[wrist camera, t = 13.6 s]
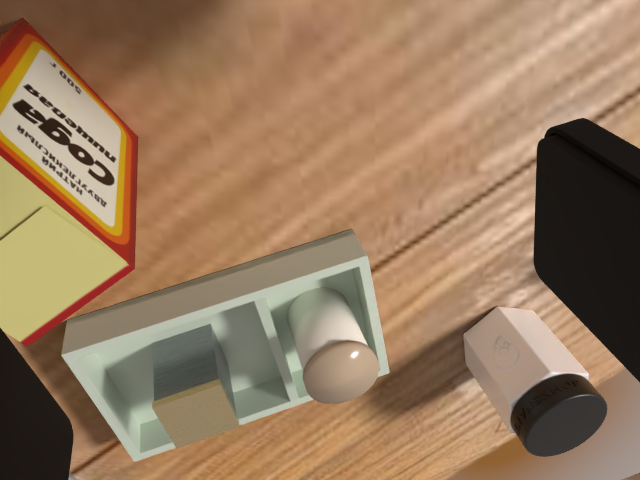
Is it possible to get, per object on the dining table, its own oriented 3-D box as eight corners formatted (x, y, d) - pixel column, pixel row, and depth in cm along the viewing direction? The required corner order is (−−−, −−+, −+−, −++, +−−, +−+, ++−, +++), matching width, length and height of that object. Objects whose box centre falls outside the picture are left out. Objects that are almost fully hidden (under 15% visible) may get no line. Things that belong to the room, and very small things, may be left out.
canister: (343, 276, 48) (373, 337, 42) (354, 325, 52) (383, 388, 46) (277, 298, 48) (297, 363, 42) (293, 346, 51) (313, 413, 45)
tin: (211, 322, 47) (220, 384, 42) (229, 363, 50) (240, 426, 45) (151, 342, 47) (152, 408, 41) (173, 382, 50) (176, 448, 44)
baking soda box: (-59, 85, 34) (-187, 219, 21) (22, 17, 33) (-56, 114, 20) (65, 192, 39) (25, 352, 26) (138, 137, 38) (134, 273, 25)
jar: (513, 289, 56) (590, 378, 46) (548, 326, 60) (625, 413, 51) (444, 346, 58) (504, 441, 48) (483, 377, 62) (545, 470, 53)
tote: (352, 228, 47) (367, 255, 44) (375, 343, 55) (389, 372, 52) (67, 320, 45) (61, 355, 41) (135, 425, 53) (134, 461, 50)
